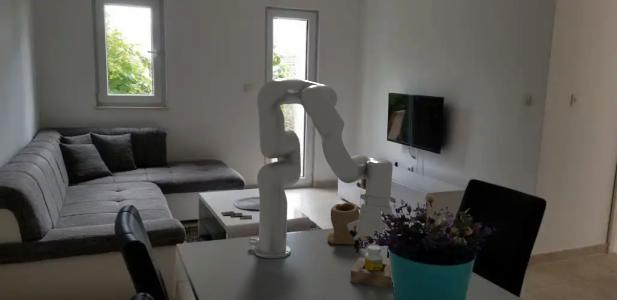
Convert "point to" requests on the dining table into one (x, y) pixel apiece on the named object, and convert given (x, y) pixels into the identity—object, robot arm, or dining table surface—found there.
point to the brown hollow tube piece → (343, 223)
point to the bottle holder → (371, 274)
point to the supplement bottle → (373, 259)
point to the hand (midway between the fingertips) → (373, 254)
